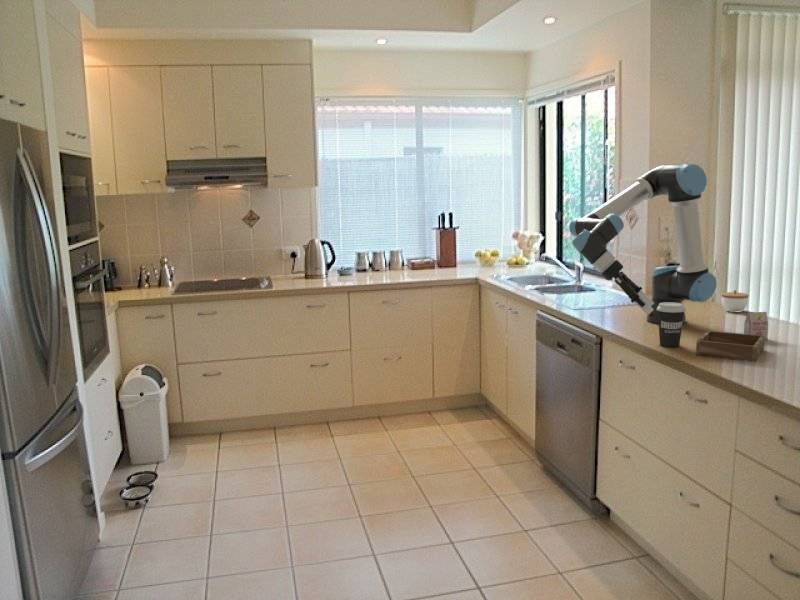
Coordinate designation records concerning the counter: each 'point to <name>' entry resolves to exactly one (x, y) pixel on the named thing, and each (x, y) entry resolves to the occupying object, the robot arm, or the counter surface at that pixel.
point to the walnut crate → (730, 345)
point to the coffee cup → (670, 323)
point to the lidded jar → (734, 301)
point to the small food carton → (756, 324)
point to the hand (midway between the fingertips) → (651, 309)
